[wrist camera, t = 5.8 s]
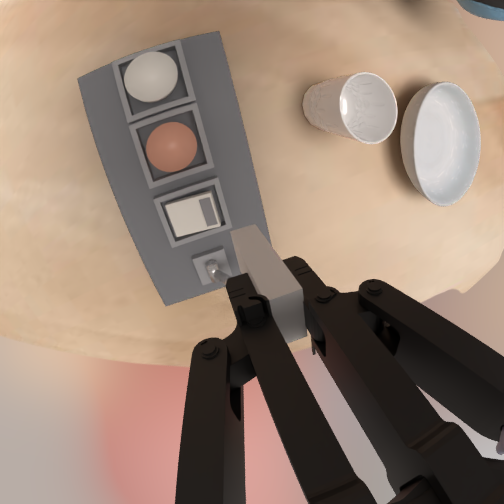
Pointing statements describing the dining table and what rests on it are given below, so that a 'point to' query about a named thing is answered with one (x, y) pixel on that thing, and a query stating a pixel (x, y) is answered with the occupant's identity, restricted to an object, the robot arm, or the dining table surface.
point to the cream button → (151, 77)
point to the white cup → (353, 107)
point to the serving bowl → (441, 142)
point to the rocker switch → (193, 213)
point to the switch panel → (187, 179)
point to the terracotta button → (171, 147)
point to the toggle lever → (216, 272)
